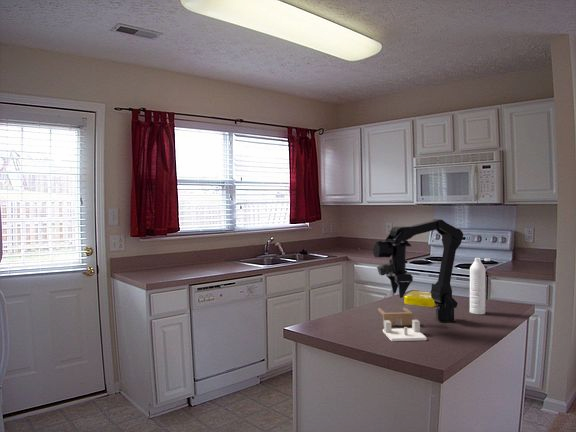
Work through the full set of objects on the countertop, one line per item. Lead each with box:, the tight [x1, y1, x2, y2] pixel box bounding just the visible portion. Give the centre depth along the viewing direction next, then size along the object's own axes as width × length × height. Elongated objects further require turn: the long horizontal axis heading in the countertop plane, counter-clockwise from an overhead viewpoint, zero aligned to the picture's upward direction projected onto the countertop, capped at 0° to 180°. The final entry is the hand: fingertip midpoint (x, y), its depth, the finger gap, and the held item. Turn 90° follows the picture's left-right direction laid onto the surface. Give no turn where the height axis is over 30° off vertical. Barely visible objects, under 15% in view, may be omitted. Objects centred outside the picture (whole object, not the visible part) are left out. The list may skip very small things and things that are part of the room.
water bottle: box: [469, 257, 491, 315], centre depth 195 cm, size 9×6×25 cm
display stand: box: [382, 319, 428, 342], centre depth 165 cm, size 12×13×5 cm
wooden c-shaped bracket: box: [377, 307, 414, 327], centre depth 183 cm, size 10×12×5 cm
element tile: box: [403, 290, 437, 308], centre depth 218 cm, size 15×15×5 cm
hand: (397, 295), depth 178 cm, fingers open, 9 cm apart
